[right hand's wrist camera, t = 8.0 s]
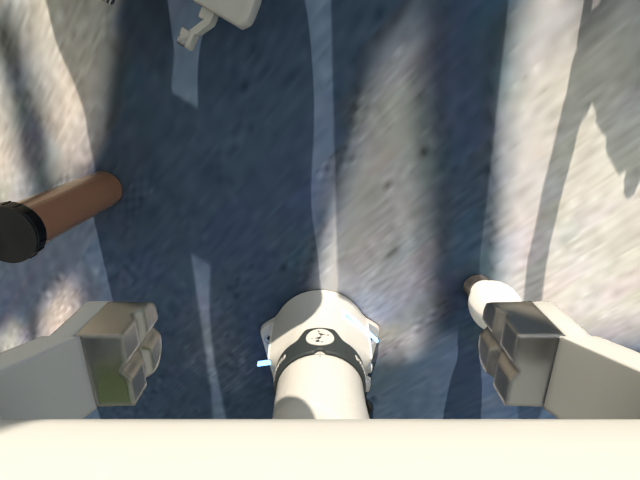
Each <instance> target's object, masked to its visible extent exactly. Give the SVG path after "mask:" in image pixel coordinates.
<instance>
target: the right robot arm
mask: <svg viewBox="0 0 640 480" xmlns="http://www.w3.org/2000/svg"><path fill="white" fill-rule="evenodd" d="M157 319H158V316H157V311H156V306H155V305H154V304H153V303H152V302H117V301H112V302H111V301H92V302H86V303H85V304H84V305H83V306H82V307H81V308H80V309H79V310H78V311H77V312H75V313H74V314H73V315H72V316H71V317H70V318H69V319H68V320H67V321H66V322H64V323H63V324H62V325H61V326H60V327H59V328H58V329H57V330H56V331H55V332H53V333H52V334H51V335H50V336H42V337H39V338H37V339H34V340H32V341H29V342H27V343H24V344H22V345H19V346H17V347H14V348H12V349H9V350H7V351H4V352H2V353H0V480H640V353H638V352H636V351H633V350H631V349H628V348H626V347H623V346H621V345H618V344H616V343H613V342H611V341H608V340H606V339H603V338H601V337H598V336H590V335H589V334H588V333H587V332H586V331H584V330H583V329H582V328H581V327H580V326H579V325H578V324H577V323H576V322H575V321H573V320H572V319H571V318H570V317H569V316H568V315H567V314H566V313H565V312H564V311H562V310H561V309H560V308H559V307H558V306H557V305H556V304H555V303H554V302H550V301H534V302H531V301H522V302H490V303H486V305H485V307H484V310H483V316H482V319H483V321H484V322H485V324H486V325H487V327H486V328H485V329H484V330H483V331H482V332H481V333H480V335H479V344H478V349H479V358H480V361H481V364H482V367H483V368H484V370H485V372H486V373H488V374H489V375H491V376H492V377H494V383H493V386H494V387H495V389H496V391H497V392H498V394H499V396H500V398H501V399H502V401H503V403H504V404H505V406H542V407H543V408H544V409H545V410H546V411H548V412H549V413H551V414H552V415H553V416H555V417H556V418H557V419H370V418H369V414H370V413H371V411H372V407H371V405H370V403H369V402H368V401H367V400H366V399H365V398H366V394H367V392H369V390H370V384H371V380H370V377H369V376H367V375H368V373H371V372H372V364H371V361H372V358H373V354H374V351H375V347H376V344H377V343H378V337H379V326H378V325H377V324H376V323H374V322H373V321H371V320H370V319H368V318H366V317H365V316H364V315H363V314H362V313H361V311H360V310H359V308H358V307H357V306H356V305H355V304H354V303H353V302H352V301H351V300H350V299H348V298H347V297H345V296H343V295H341V294H339V293H336V292H332V291H327V290H313V291H308V292H304V293H301V294H299V295H297V296H295V297H293V298H292V299H290V300H289V301H288V302H287V303H286V304H285V305H284V306H283V307H282V308H281V310H280V311H279V313H278V314H277V315H276V316H275V317H274V318H272V319H271V320H269V321H267V322H266V323H264V324H263V325H262V326H261V337H262V340H263V344H264V347H265V351H266V354H267V358H268V360H264V361H258V364H257V366H265V365H270V368H271V372H272V375H273V379H274V393H275V404H274V411H273V418H272V419H83V418H84V417H86V416H87V415H88V414H90V413H91V412H92V411H94V410H95V409H96V407H98V406H133V405H135V404H136V403H137V401H138V399H139V398H140V396H141V394H142V392H143V391H144V389H145V387H146V386H147V383H146V377H148V376H149V375H151V374H152V373H154V372H155V370H156V368H157V366H158V365H159V361H160V357H161V351H162V342H161V335H160V333H159V332H158V331H157V330H156V329H155V328H154V327H153V325H154V324H155V322H156V321H157ZM268 336H270V338H268ZM370 337H371V338H370Z"/></svg>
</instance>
